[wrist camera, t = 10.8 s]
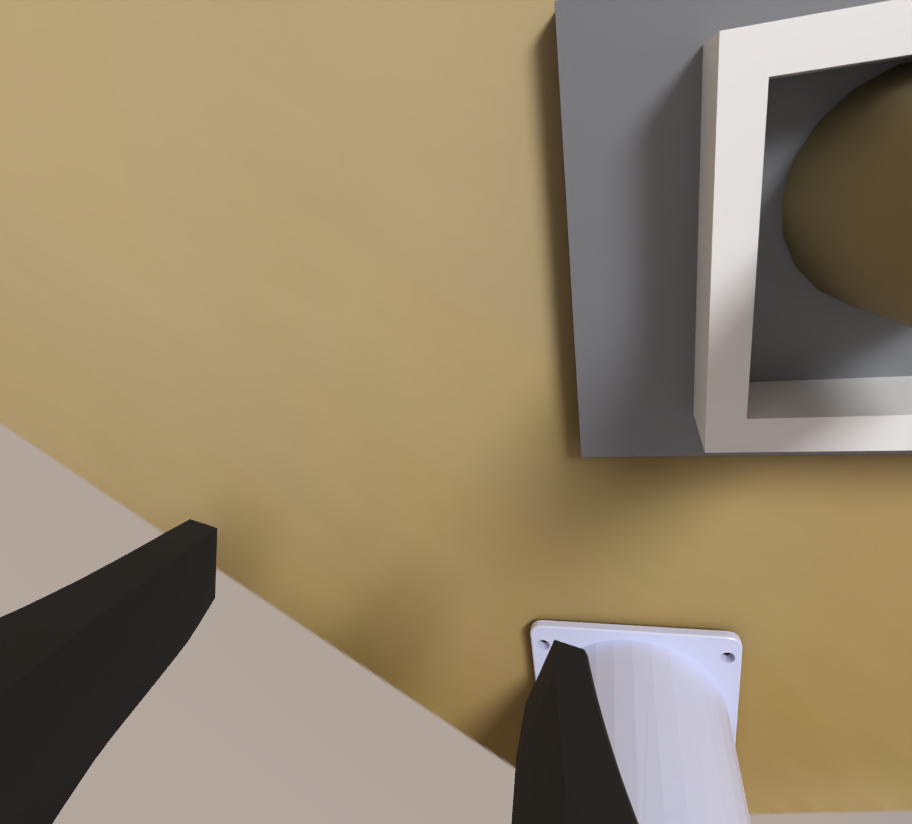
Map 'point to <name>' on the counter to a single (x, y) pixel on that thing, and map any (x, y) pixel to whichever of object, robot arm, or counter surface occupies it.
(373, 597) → the counter surface
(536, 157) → the counter surface
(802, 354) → the socket dock
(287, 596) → the counter surface
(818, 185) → the cork
